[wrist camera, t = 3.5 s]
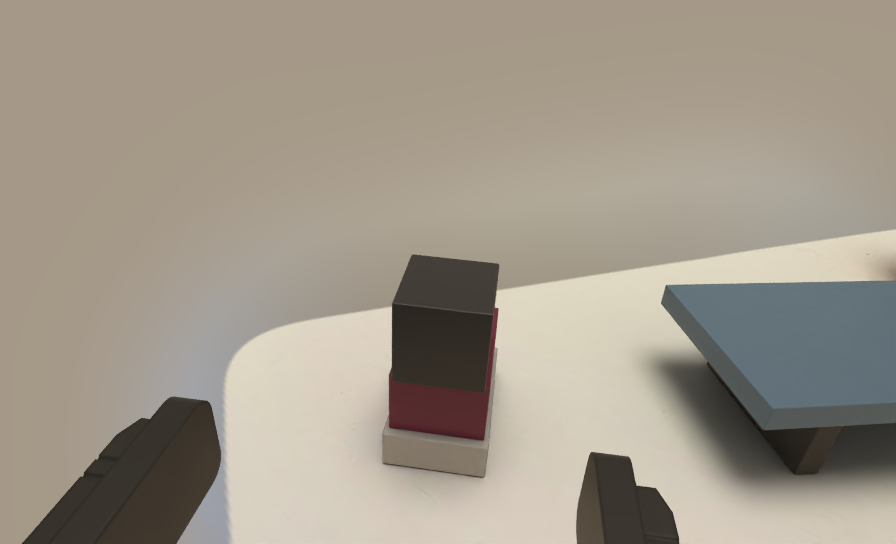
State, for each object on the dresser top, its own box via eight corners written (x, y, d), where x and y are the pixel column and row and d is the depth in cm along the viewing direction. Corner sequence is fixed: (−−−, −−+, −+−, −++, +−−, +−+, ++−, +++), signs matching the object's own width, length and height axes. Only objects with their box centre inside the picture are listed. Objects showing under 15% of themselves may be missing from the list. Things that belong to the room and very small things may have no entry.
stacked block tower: (484, 478, 25) (504, 316, 21) (382, 463, 26) (381, 302, 21) (496, 355, 33) (512, 218, 29) (417, 345, 33) (421, 209, 29)
